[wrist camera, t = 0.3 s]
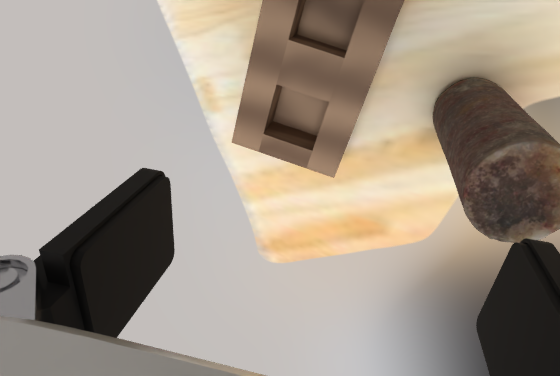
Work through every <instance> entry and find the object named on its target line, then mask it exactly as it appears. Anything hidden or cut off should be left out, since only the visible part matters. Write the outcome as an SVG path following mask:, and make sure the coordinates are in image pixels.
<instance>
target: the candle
mask: <svg viewBox="0 0 560 376" xmlns="http://www.w3.org/2000/svg"><path fill="white" fill-rule="evenodd" d="M433 122H434V127H435V130H436V133H437V136H438V139H439V141H440V144H441V146H442V149H443V152H444V154H445V156H446V159H447V162H448V165H449V167H450V170H451V173H452V176H453V179H454V182H455V185H456V188H457V191H458V194H459V197H460V200H461V202H462V205H463V208H464V211H465V214H466V216H467V217H468V219H469V220H470V222H471V223H472V225H473V226H474V227H475V228H476V229H477V230H478V231H480V232H481V233H483V234H484V235H486V236H488V237H489V238H490V239H496V240H499V241H502V242H513V243H516V242H518V243H520V242H521V241H522V240H523V239H525V238H527V239H533V240H539V239H542V238H544V237H546V236H548V235H549V234H551V233H553V232H555V231H557V230H559V229H560V144H559V143H558V142H557V141H556V140H555V139H554V138H553V137H552V136H551V135H550V134H549V133H548V132H547V131H546V130H545V129H543V128H542V127H541V126H540V125H539V124H538V123H537V122H536V121H535V120H534V119H532V118H531V117H530V116H529V115H528V114H527V113H526V112H525V111H524V110H523V109H522V108H521V107H520V106H519V105H518V104H517V103H516V102H515V101H514V100H513V99H512V98H511V97H510V96H509V95H508V94H507V93H506V92H505V91H504V90H503V89H502V88H501V87H499V86H498V85H497V84H495V83H493V82H491V81H489V80H485V79H481V78H469V79H465V80H462V81H459V82H457V83H455V84H454V85H452V86H451V87H449V88H448V89H447V90H446V91H444V92H443V93H442V95H441V96H440V97H439V98H438V100H437V101H436V104H435V107H434V112H433Z"/></svg>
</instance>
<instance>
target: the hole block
mask: <svg viewBox="0 0 560 376" xmlns="http://www.w3.org/2000/svg"><path fill="white" fill-rule="evenodd" d="M403 2H404V0H263V2H262V7H261V11H260V16H259V20H258V25H257V29H256V34H255V38H254V43H253V48H252V52H251V57H250V61H249V66H248V70H247V75H246V79H245V84H244V89H243V93H242V98H241V102H240V107H239V111H238V116H237V120H236V125H235V130H234V134H233V139H232V143H235V144H238V145H241V146H243V147H246V148H249V149H252V150H255V151H258V152H261V153H264V154H267V155H269V156H272V157H275V158H278V159H281V160H284V161H287V162H290V163H293V164H295V165H298V166H301V167H304V168H307V169H310V170H313V171H316V172H319V173H321V174H324V175H327V176H330V177H333V178H334V177H335V174H336V172H337V169H338V167H339V164H340V162H341V159H342V156H343V154H344V151H345V149H346V146H347V144H348V141H349V139H350V136H351V134H352V131H353V129H354V126H355V123H356V121H357V118H358V116H359V113H360V111H361V108H362V106H363V103H364V101H365V98H366V96H367V93H368V90H369V88H370V85H371V83H372V80H373V78H374V75H375V73H376V70H377V68H378V65H379V63H380V60H381V57H382V55H383V52H384V50H385V47H386V45H387V42H388V40H389V37H390V35H391V32H392V30H393V27H394V24H395V22H396V19H397V17H398V14H399V12H400V9H401V7H402V4H403Z"/></svg>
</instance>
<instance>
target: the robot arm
mask: <svg viewBox="0 0 560 376" xmlns="http://www.w3.org/2000/svg"><path fill="white" fill-rule="evenodd" d="M39 251H40V256H39V257H38V258H36V259H35V260H34V261H32V260H31V259H30V258H28V257H25V256H22V255H6V256H0V376H265V375H262V374H258V373H254V372H250V371H246V370H242V369H238V368H234V367H230V366H227V365H223V364H219V363H215V362H210V361H206V360H203V359H198V358H194V357H191V356H187V355H182V354H179V353H175V352H171V351H167V350H162V349H159V348H154V347H151V346H147V345H143V344H139V343H134V342H131V341H127V340H123V339H119V338H117V336H118V335H119V334H120V332H121V331H122V330H123V328H124V327H125V326H126V324H127V323H128V321H129V320H130V319H131V317H132V316H133V315H134V313H135V312H136V310H137V309H138V308H139V306H140V305H141V304H142V302H143V301H144V299H145V298H146V297H147V295H148V294H149V293H150V291H151V290H152V289H153V287H154V286H155V284H156V283H157V282H158V280H159V279H160V277H161V276H162V275H163V273H164V272H165V271H166V269H167V268H168V266H169V265H170V264H171V262H172V260H173V257H174V236H173V220H172V204H171V188H170V181H169V178H168V177H165V174H164V173H163V172H162V171H158V170H152V169H147V168H142V169H140V170H139V171H138V172H136V173H135V174H134V175H133V176H131V177H130V178H129V179H127V180H126V181H125V182H124V183H122V184H121V185H120V186H119V187H118V188H116V189H115V190H114V191H112V192H111V193H110V194H109V195H107V196H106V197H105V198H104V199H102V200H101V201H100V202H98V203H97V204H96V205H95V206H94V207H92V208H91V209H90V210H88V211H87V212H86V213H85V214H83V215H82V216H81V217H80V218H78V219H77V220H76V221H75V222H73V223H72V224H71V225H70V226H69V227H67V228H66V229H65V230H63V231H62V232H61V233H60V234H58V235H57V236H56V237H54V238H53V239H52V240H51V241H49V242H48V243H47V244H46V245H44V246H43V247H42V248H41V249H39ZM476 326H477V332H478V336H479V340H480V343H481V346H482V350H483V353H484V356H485V360H486V363H487V367H488V370H489V374H490V376H560V254H559V252H558V251H557V249H556V248H555V247H554V245H553V244H552V243H549V242H543V241H538V240H533V239H527V238H525V239H523V240H522V241H521V242H520V243H518V242H516V243H514V244H513V245H512V246H511V248H510V250H509V253H508V255H507V257H506V259H505V261H504V263H503V265H502V267H501V269H500V271H499V274H498V276H497V278H496V280H495V282H494V284H493V286H492V288H491V290H490V292H489V295H488V297H487V299H486V301H485V303H484V305H483V307H482V309H481V311H480V314H479V316H478V319H477V325H476Z"/></svg>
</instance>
